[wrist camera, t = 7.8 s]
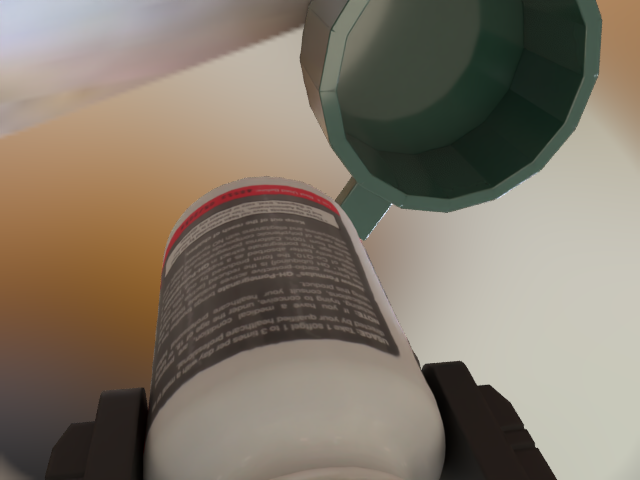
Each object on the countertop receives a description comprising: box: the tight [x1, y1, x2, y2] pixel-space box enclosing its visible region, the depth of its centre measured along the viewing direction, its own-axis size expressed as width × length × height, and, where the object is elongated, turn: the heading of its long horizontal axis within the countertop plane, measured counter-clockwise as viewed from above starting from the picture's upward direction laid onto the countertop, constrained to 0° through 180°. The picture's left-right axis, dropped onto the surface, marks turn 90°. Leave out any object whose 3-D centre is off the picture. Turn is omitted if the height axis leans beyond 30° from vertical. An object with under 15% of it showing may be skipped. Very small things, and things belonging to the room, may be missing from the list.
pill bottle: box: [143, 176, 446, 480], centre depth 12 cm, size 5×5×10 cm
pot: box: [300, 0, 602, 240], centre depth 29 cm, size 13×19×6 cm
